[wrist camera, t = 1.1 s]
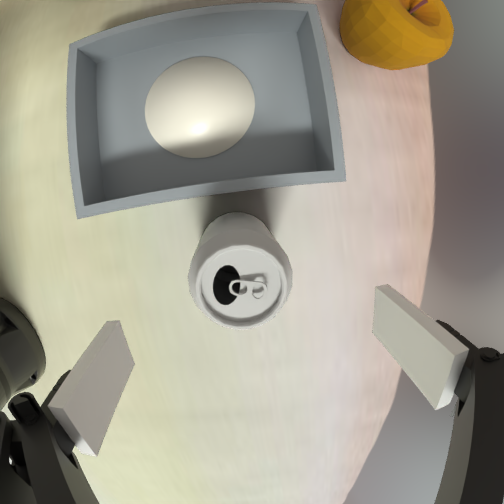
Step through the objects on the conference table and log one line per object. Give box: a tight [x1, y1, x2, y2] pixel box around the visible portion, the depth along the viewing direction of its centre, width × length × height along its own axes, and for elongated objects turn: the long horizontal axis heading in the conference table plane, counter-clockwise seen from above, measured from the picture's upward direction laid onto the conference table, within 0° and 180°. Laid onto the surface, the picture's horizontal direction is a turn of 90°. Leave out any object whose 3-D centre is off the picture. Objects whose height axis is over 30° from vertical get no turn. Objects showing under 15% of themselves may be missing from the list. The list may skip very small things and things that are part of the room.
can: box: [188, 212, 292, 330], centre depth 24 cm, size 8×8×12 cm
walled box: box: [67, 2, 346, 219], centre depth 23 cm, size 24×18×6 cm
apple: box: [340, 0, 454, 70], centre depth 19 cm, size 11×11×13 cm
